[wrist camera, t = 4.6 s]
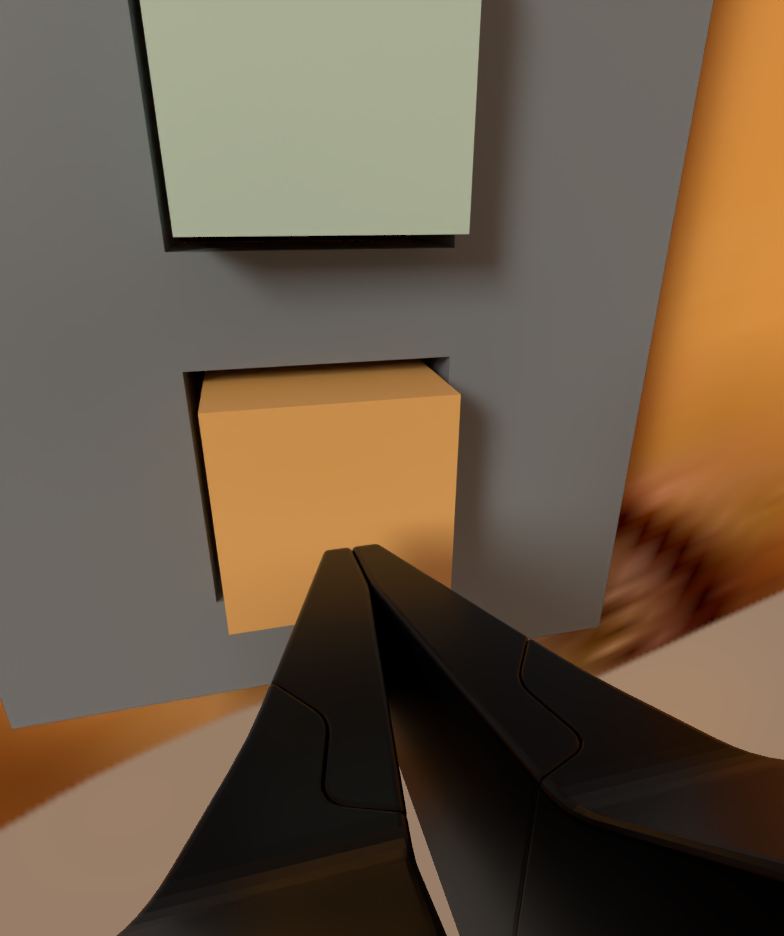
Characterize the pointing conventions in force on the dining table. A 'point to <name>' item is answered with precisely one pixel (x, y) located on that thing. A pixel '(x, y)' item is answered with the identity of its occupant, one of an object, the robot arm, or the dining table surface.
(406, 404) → the orange button
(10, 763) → the dining table surface
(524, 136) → the panel
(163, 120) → the sage button
